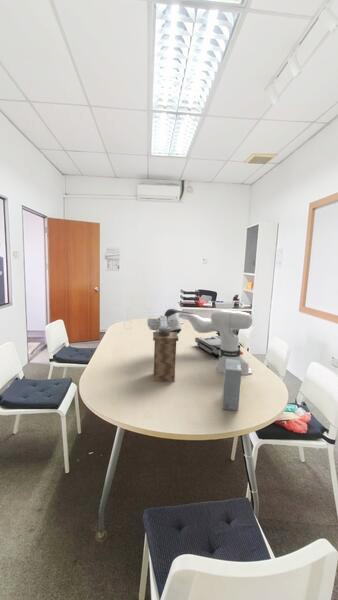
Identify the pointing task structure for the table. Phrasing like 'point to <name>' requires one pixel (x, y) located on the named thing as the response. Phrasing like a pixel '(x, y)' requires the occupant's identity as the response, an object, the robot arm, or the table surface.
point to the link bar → (164, 326)
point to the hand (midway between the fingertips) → (163, 319)
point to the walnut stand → (164, 357)
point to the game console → (210, 345)
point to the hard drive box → (231, 384)
